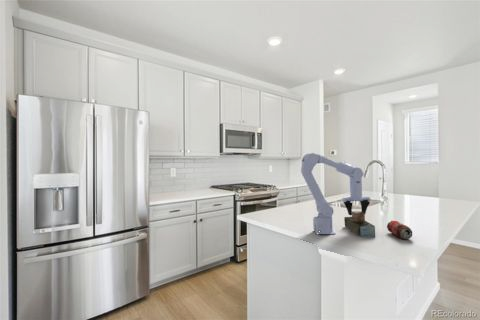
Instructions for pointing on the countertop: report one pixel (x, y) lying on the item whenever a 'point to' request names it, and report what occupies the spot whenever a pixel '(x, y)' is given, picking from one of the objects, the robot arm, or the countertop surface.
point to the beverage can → (399, 230)
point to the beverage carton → (360, 227)
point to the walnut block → (358, 216)
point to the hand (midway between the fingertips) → (356, 214)
